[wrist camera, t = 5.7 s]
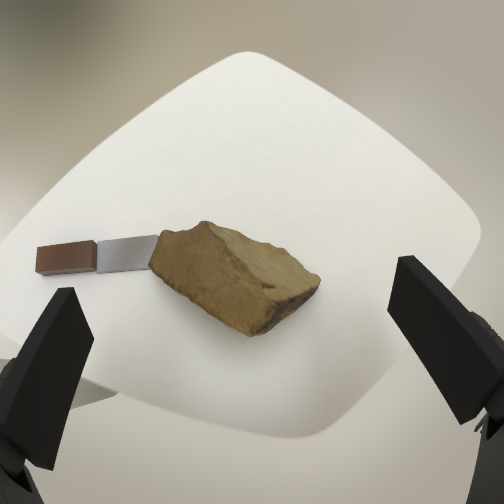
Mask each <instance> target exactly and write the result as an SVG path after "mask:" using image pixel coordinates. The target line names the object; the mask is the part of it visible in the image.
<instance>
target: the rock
mask: <svg viewBox="0 0 504 504" xmlns="http://www.w3.org/2000/svg"><path fill="white" fill-rule="evenodd" d="M148 266H149V267H150V268H151V269H152V271H153V273H154V274H155V275H157V276H158V277H160V278H161V279H162V280H163V281H164V282H165V283H166V284H167V285H169V286H170V287H171V288H172V289H174V290H175V291H176V292H178V293H179V294H182V295H184V296H187V297H188V298H189V299H190V300H191V301H192V302H193V303H196V304H197V305H198V306H200V307H202V308H203V309H204V310H205V311H206V312H207V313H209V314H210V315H212V316H214V317H215V318H217V319H218V320H220V321H222V322H223V323H224V324H226V325H227V326H229V327H231V328H233V329H235V330H237V331H239V332H242V333H244V334H245V335H247V336H249V337H252V336H255V335H262V334H265V333H266V332H268V331H270V330H271V329H272V328H273V327H274V326H275V325H276V324H277V323H279V322H280V321H281V320H283V319H284V318H286V317H287V316H288V315H290V314H291V313H293V312H294V311H295V310H297V309H298V308H299V307H300V306H301V305H302V304H304V303H305V302H306V301H307V300H308V299H309V298H310V297H311V296H312V295H313V294H314V293H315V291H316V290H317V289H318V286H319V284H320V281H321V279H320V277H319V276H318V275H316V274H313V273H310V272H309V271H307V270H306V269H305V268H304V267H303V265H302V264H301V263H300V262H299V261H298V260H297V259H295V258H294V257H292V256H291V255H290V254H289V253H288V252H287V251H286V250H285V249H284V248H276V247H274V246H273V245H271V244H269V243H260V242H257V241H254V240H251V239H249V238H247V237H246V236H244V235H243V234H241V233H240V232H238V231H235V230H231V229H228V228H224V227H219V226H216V225H215V224H214V223H212V222H209V221H201V222H200V223H199V224H198V225H197V226H195V227H194V228H192V229H190V230H187V231H184V230H181V231H179V232H173V231H170V230H163V231H162V232H161V234H160V236H159V238H158V241H157V243H156V246H155V248H154V251H153V252H152V255H151V257H150V260H149V262H148Z"/></svg>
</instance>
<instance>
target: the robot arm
mask: <svg viewBox="0 0 504 504" xmlns="http://www.w3.org/2000/svg"><path fill="white" fill-rule="evenodd" d="M387 311H388V312H389V314H390V315H391V317H392V318H393V320H394V321H395V323H396V324H397V325H398V327H399V328H400V330H401V331H402V333H403V334H404V336H405V337H406V339H407V340H408V342H409V343H410V345H411V346H412V348H413V349H414V351H415V352H416V354H417V355H418V357H419V358H420V360H421V362H422V363H423V364H424V366H425V368H426V369H427V371H428V372H429V374H430V376H431V377H432V378H433V380H434V382H435V384H436V385H437V387H438V388H439V390H440V392H441V393H442V395H443V397H444V398H445V400H446V402H447V403H448V405H449V407H450V408H451V410H452V412H453V413H454V415H455V417H456V418H457V420H458V422H459V424H460V425H462V424H464V423H466V422H468V421H470V420H472V419H474V418H476V417H477V415H478V414H479V413H480V411H481V410H482V409H483V407H484V408H485V409H486V411H487V413H486V414H485V416H484V417H483V418H482V420H481V421H480V422H479V423H478V425H477V426H476V428H475V430H474V432H477V430H478V429H479V428H480V427H481V426H482V425H483V427H482V430H481V431H480V433H482V434H481V441H480V446H479V451H478V457H477V461H476V466H475V471H474V475H473V479H472V483H471V487H470V491H469V494H468V498H467V502H466V504H504V341H503V340H502V339H501V337H500V336H498V334H497V333H496V332H495V331H494V329H491V326H490V325H489V324H488V323H487V322H486V321H485V320H484V319H483V318H482V317H481V316H479V315H477V314H476V313H474V312H469V311H468V310H467V309H466V308H465V307H464V306H463V305H462V303H461V302H459V300H458V299H457V298H456V297H455V296H454V295H453V294H452V293H451V292H450V291H449V290H448V289H447V288H446V287H445V286H444V285H443V284H442V283H441V282H440V281H439V280H438V279H437V278H436V277H435V276H434V275H433V274H432V273H431V272H430V271H429V270H428V269H427V268H426V267H425V266H424V265H423V264H422V263H421V262H420V261H419V260H418V259H417V258H416V257H415V256H414V255H411V256H403V257H398V262H397V268H396V273H395V278H394V282H393V287H392V292H391V296H390V301H389V305H388V309H387ZM93 342H94V337H93V335H92V332H91V330H90V328H89V325H88V323H87V321H86V318H85V316H84V313H83V311H82V308H81V306H80V303H79V301H78V298H77V295H76V293H75V290H74V287H67V288H58V289H57V291H56V292H55V294H54V295H53V297H52V299H51V300H50V302H49V303H48V305H47V306H46V308H45V310H44V311H43V313H42V314H41V316H40V318H39V319H38V321H37V322H36V324H35V326H34V327H33V329H32V331H31V333H30V334H29V336H28V338H27V339H26V341H25V343H24V345H23V346H22V348H21V350H20V352H19V354H18V356H17V357H16V358H13V359H11V360H10V361H9V363H8V364H7V365H6V366H5V367H4V368H3V370H2V372H1V374H0V504H44V502H43V500H42V498H41V496H40V494H39V492H38V490H37V488H36V486H35V483H34V481H33V479H32V477H31V474H30V472H29V470H28V469H27V467H26V466H25V465H24V463H25V459H28V460H29V461H30V462H31V463H32V464H33V465H34V466H36V467H40V468H43V469H47V470H51V471H53V469H54V464H55V460H56V456H57V452H58V449H59V445H60V441H61V438H62V434H63V430H64V427H65V423H66V420H67V417H68V413H69V410H70V407H71V404H72V401H73V398H74V395H75V392H76V389H77V386H78V383H79V380H80V377H81V374H82V371H83V368H84V366H85V363H86V360H87V357H88V355H89V352H90V349H91V347H92V344H93Z"/></svg>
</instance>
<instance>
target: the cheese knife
mask: <svg viewBox="0 0 504 504" xmlns="http://www.w3.org/2000/svg"><path fill="white" fill-rule="evenodd" d="M157 241H158V235H150V236H141V237H132V238H123V239H114V240H106V241H98V242H97V244H96V243H95V242H94V241H93V240H89V241H81V242H73V243H65V244H58V245H50V246H43V247H37V257H36V270H35V272H37V273H39V274H41V275H43V276H44V275H56V274H67V273H78V272H90V271H96V272H97V273H109V272H120V271H132V270H143V269H151V268H150V267H149V266H148V262H149V260H150V257H151V255H152V252H153V251H154V248H155V246H156V243H157Z"/></svg>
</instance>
